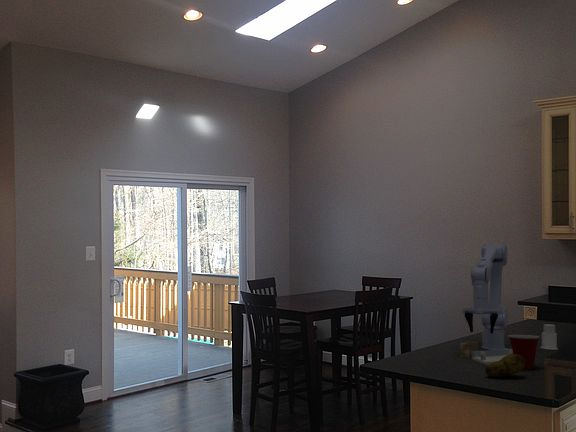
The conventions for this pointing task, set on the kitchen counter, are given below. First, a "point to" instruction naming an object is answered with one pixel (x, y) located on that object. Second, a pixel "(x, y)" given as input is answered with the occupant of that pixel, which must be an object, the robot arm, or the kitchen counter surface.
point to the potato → (506, 366)
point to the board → (489, 359)
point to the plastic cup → (525, 348)
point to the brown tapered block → (468, 348)
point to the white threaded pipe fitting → (549, 337)
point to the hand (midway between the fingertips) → (481, 332)
